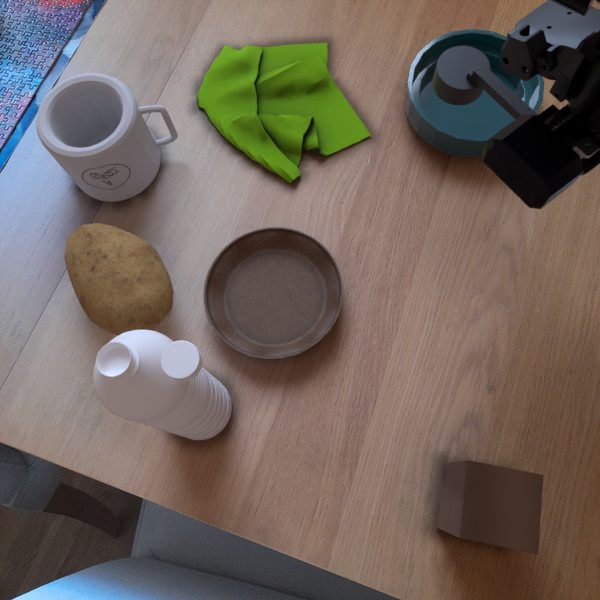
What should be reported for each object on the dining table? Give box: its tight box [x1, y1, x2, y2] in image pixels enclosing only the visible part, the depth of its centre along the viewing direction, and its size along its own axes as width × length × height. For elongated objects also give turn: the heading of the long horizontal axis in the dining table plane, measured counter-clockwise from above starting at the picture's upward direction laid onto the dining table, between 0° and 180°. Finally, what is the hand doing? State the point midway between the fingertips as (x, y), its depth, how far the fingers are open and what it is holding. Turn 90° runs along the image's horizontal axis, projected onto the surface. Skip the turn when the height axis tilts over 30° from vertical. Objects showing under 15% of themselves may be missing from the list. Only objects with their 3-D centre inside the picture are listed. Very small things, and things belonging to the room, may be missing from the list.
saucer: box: [203, 226, 344, 360], centre depth 61 cm, size 15×15×3 cm
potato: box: [64, 222, 175, 336], centre depth 60 cm, size 10×14×8 cm
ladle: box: [433, 46, 539, 119], centre depth 52 cm, size 16×5×4 cm, turn 37°
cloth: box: [196, 42, 372, 185], centre depth 68 cm, size 20×22×2 cm
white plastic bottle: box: [92, 329, 233, 441], centre depth 47 cm, size 9×6×25 cm
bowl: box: [403, 28, 545, 159], centre depth 66 cm, size 15×15×4 cm
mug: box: [35, 72, 179, 203], centre depth 64 cm, size 14×11×10 cm
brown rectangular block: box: [436, 459, 544, 555], centre depth 50 cm, size 6×6×10 cm
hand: (559, 167), depth 51 cm, fingers closed on ladle
